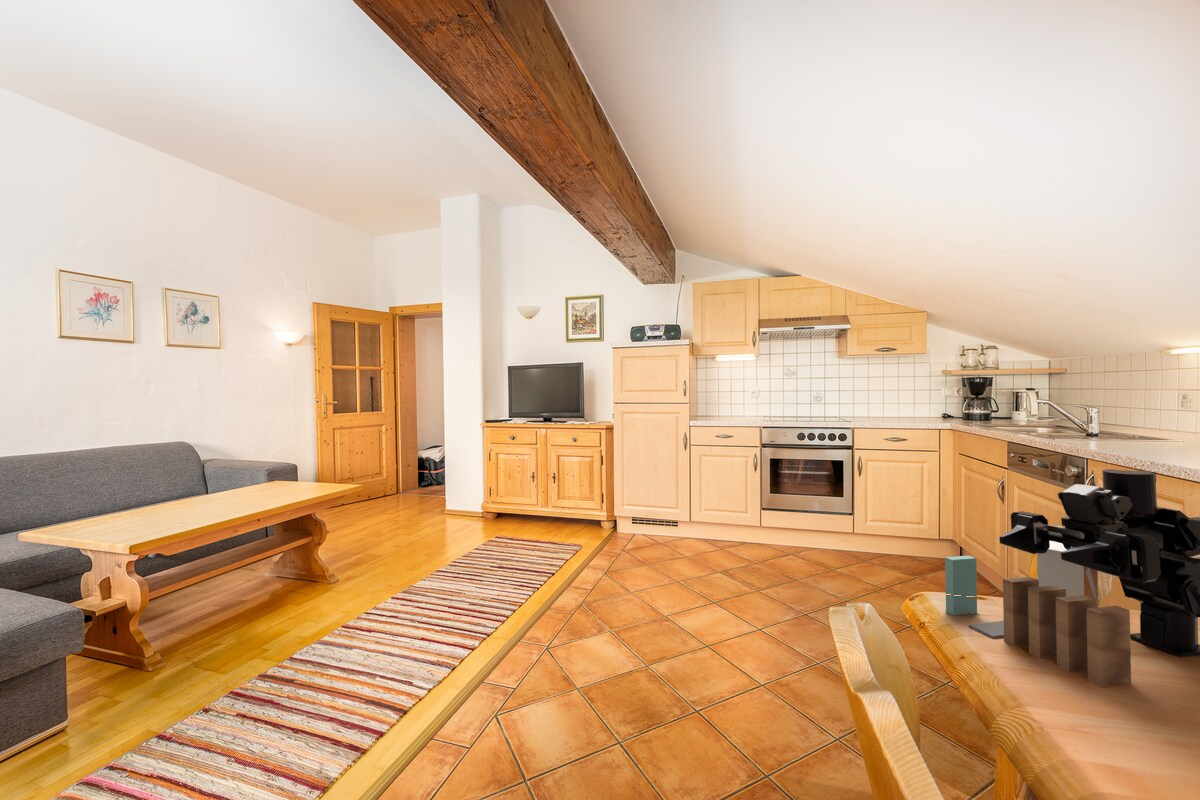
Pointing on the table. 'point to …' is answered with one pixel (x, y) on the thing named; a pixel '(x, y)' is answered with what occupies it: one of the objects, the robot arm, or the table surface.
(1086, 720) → the table surface
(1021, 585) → the domino
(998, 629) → the end pad
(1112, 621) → the domino
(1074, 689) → the table surface
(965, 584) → the domino
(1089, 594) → the small box
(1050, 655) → the domino
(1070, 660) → the domino
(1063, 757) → the table surface
